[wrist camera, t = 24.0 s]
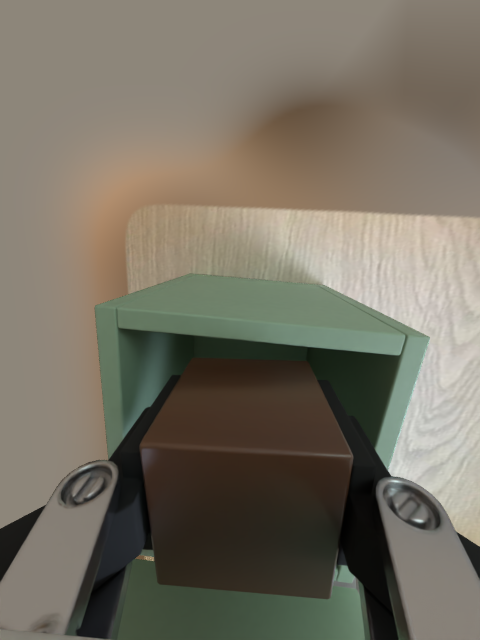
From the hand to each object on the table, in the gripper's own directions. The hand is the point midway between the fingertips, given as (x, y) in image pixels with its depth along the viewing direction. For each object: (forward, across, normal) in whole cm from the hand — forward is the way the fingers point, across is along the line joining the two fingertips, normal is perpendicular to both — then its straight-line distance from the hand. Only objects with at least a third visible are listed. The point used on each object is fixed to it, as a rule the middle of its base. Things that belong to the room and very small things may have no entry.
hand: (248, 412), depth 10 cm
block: (0, 0, 0) cm, 0 cm away
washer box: (+13, 0, +2) cm, 13 cm away
